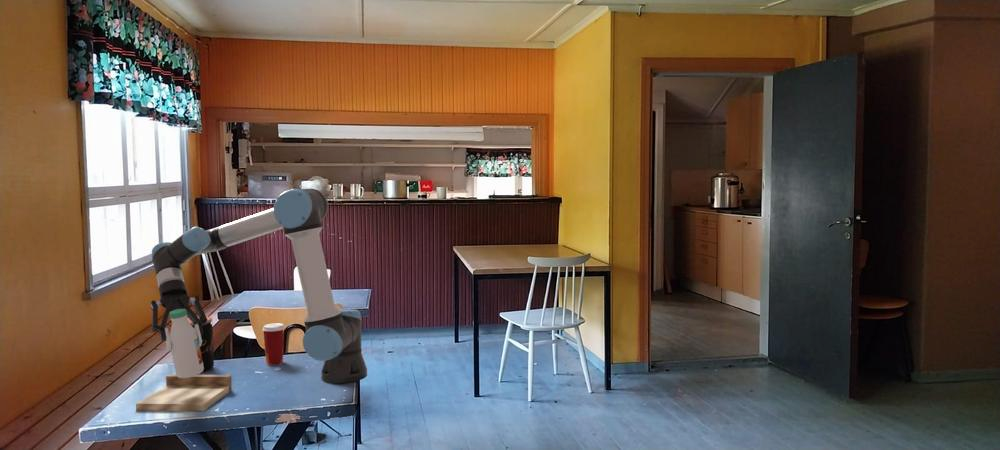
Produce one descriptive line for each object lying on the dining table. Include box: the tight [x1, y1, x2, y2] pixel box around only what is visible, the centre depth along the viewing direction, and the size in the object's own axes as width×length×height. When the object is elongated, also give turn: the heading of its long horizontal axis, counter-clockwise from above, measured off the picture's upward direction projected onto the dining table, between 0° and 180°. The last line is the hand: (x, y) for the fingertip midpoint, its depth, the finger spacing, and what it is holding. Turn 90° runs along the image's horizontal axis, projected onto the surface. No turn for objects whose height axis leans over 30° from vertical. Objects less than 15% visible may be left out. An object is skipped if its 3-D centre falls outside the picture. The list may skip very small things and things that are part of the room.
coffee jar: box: [187, 315, 215, 374], centre depth 225 cm, size 11×11×18 cm
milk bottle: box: [169, 309, 204, 378], centre depth 192 cm, size 8×8×20 cm
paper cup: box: [262, 322, 286, 366], centre depth 233 cm, size 8×8×14 cm
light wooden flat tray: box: [135, 373, 233, 412], centre depth 195 cm, size 20×18×5 cm
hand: (185, 346), depth 191 cm, fingers closed on milk bottle, 8 cm apart
